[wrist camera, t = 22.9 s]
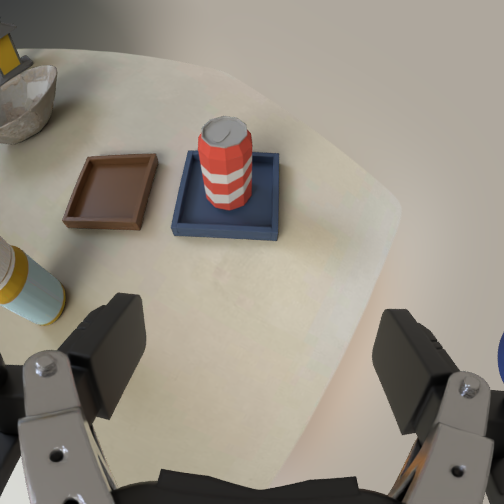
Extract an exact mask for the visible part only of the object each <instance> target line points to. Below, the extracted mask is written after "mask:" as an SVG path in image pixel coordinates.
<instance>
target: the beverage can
mask: <svg viewBox="0 0 504 504" xmlns="http://www.w3.org/2000/svg"><path fill="white" fill-rule="evenodd" d="M198 152H199V158H200V163H201V169H202V175H203V180H204V186H205V192H206V197H207V199H208V200H209V201H210V202H211V204H212V205H213V206H214V207H215V208H220V209H225V210H233V209H236V208H239V207H241V206H244V205H245V203H246V202H247V201H248V199H249V198H250V197H251V195H252V139H251V133H250V132H249V131H248V130H247V127H246V124H245V123H243V122H242V121H241V120H239V119H238V118H235V117H227V116H222V117H218V118H214V119H211V120H209V121H208V122H207V123H206V124H205V125H204V126H203V127H202V132H201V134H200V136H199V137H198Z"/></svg>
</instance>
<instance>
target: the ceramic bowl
mask: <svg viewBox="0 0 504 504" xmlns="http://www.w3.org/2000/svg"><path fill="white" fill-rule="evenodd" d="M56 78H57V68H56V67H54V66H51V65H44V66H39V67H36V68H31V69H28V70H26V71H24V72H22V73H21V74H18V75H17V76H16V77H14V78H12V79H11V80H9V81H8V82H6V83H5V84H4V85H2V86H1V87H0V143H3V144H11V145H12V144H16V143H19V142H21V141H23V140H25V139H27V138H29V137H31V136H33V135H34V134H36V133H38V132H39V131H40V130H41V129H42V128H43V127H44V126H45V124H46V123H47V122H48V121H49V118H50V116H51V112H52V109H53V108H52V107H53V101H54V98H55V91H56Z"/></svg>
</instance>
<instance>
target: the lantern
mask: <svg viewBox="0 0 504 504" xmlns="http://www.w3.org/2000/svg"><path fill="white" fill-rule="evenodd" d="M0 18H1V17H0ZM15 28H17V26H15V25H13V24H8V23H1V22H0V87H1V86H2V85H4V84H5V83H6V82H8V81H9V80H11V79H12V78H14V77H16V76H17V75H18V74H20V73H22V72H23V71H24V70H26V69H27V68H29V67H30V66H31V65H33V62H32V61H31V60H30V59H29V58H28V57H27V56H26V55H25V56H23V57H21V58H20V57H19V54H18V52H17V50H16V47H15V45H14V43H13V40H12V38H11V35H10V32H11V31H13V30H14V29H15Z"/></svg>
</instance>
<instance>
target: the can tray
mask: <svg viewBox="0 0 504 504" xmlns="http://www.w3.org/2000/svg"><path fill="white" fill-rule="evenodd" d="M278 210H279V153H274V154H273V153H262V152H252V195H251V197H250V198H249V199H248V201H247V202H246V203H245V205H244V206H241V207H239V208H236V209H233V210H225V209H220V208H215V207H214V206H213V205H212V204H211V202H210V201H209V200H208V199H207V197H206V192H205V186H204V180H203V175H202V169H201V163H200V158H199V152H198V151H188V153H187V157H186V161H185V165H184V170H183V174H182V178H181V183H180V187H179V192H178V196H177V201H176V205H175V210H174V215H173V220H172V225H171V229H172V232H173V234H174V236H192V237H213V238H233V239H252V240H271V241H277V237H278Z"/></svg>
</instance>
